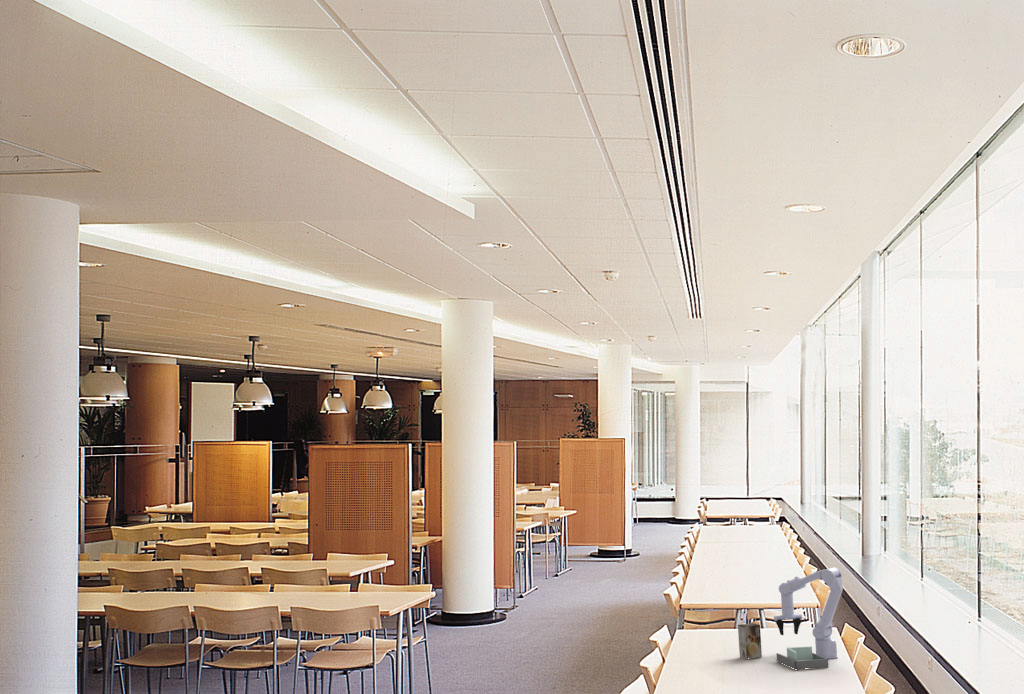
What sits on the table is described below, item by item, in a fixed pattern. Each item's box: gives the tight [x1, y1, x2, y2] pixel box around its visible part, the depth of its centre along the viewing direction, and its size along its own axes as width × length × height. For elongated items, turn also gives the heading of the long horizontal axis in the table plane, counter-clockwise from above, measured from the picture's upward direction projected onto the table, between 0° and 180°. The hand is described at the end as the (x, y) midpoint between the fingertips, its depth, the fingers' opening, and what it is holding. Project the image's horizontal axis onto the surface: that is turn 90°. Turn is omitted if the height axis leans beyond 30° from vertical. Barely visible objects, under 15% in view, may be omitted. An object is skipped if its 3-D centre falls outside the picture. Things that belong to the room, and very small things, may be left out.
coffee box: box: [737, 622, 763, 660], centre depth 522 cm, size 9×6×16 cm
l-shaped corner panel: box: [786, 645, 813, 661], centre depth 501 cm, size 12×12×8 cm
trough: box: [775, 652, 829, 670], centre depth 502 cm, size 17×20×4 cm
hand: (789, 634), depth 528 cm, fingers open, 7 cm apart
